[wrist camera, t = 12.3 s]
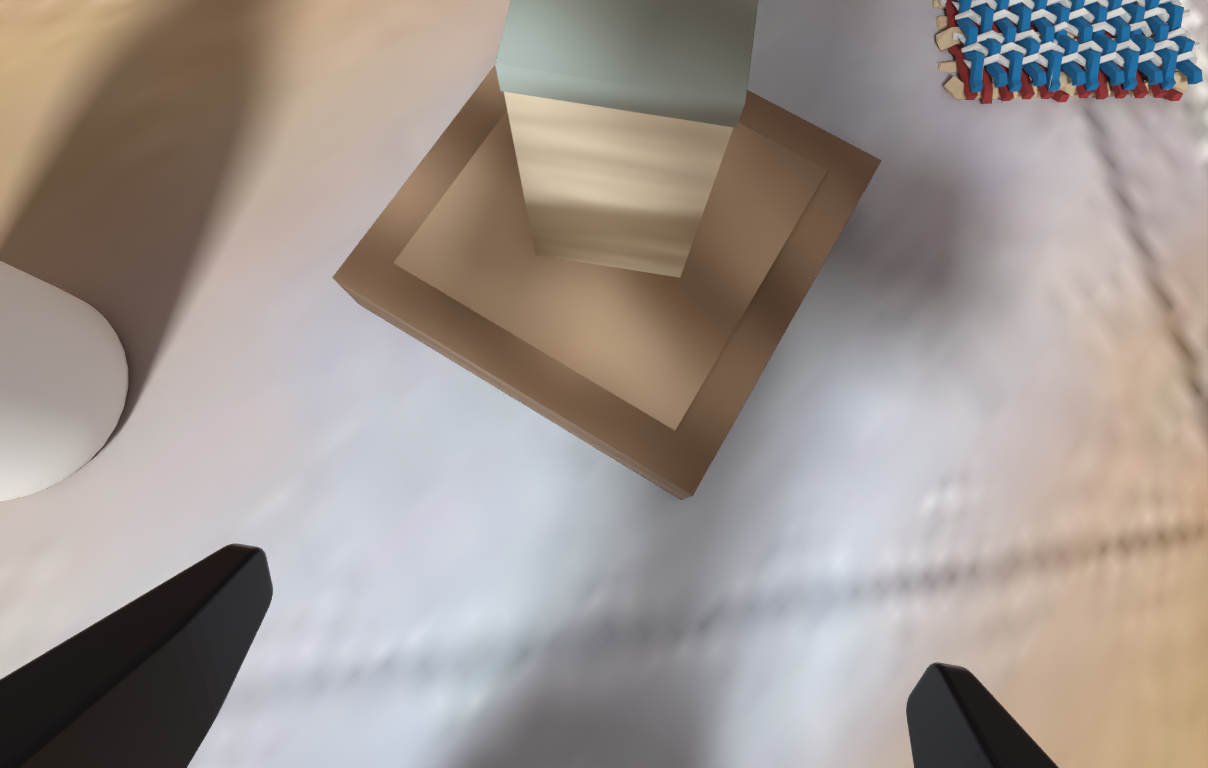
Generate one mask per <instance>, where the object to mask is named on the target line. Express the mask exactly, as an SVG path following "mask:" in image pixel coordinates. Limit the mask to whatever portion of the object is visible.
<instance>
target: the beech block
mask: <svg viewBox="0 0 1208 768" xmlns="http://www.w3.org/2000/svg"><path fill="white" fill-rule="evenodd" d="M757 5H758V0H510V4H509V8H508V12H507V16H506V20H505V25H504V29H503V33H502V37H501V41H500V46H499V50H498V54H497V58H496V62H495V66H496V71H497V76H498V81H499V86H500V91H503V92H504V96H505V101H506V106H507V111H508V116H509V121H510V127H511V132H512V137H513V142H514V147H515V152H516V157H517V163H518V168H519V173H520V178H521V183H522V188H523V194H524V199H525V204H526V209H527V214H528V219H529V224H530V230H531V235H532V240H533V245H534V250H535V255H541V256H548V257H554V258H560V259H566V260H573V261H579V262H585V263H591V264H598V265H604V266H610V267H616V268H623V269H629V270H635V271H642V272H648V273H654V274H660V275H667V276H673V277H679V278H680V277H681V274H682V271H683V269H684V266H685V263H686V260H687V257H688V254H689V252H690V249H691V246H692V243H693V240H694V237H695V235H696V232H697V229H698V226H699V223H700V221H701V218H702V215H703V212H704V209H705V206H706V204H707V201H708V198H709V195H710V192H711V189H712V187H713V184H714V181H715V178H716V175H717V172H718V170H719V167H720V164H721V161H722V158H723V155H724V153H725V150H726V147H727V144H728V141H729V139H730V136H731V133H732V130H733V127H734V128H736V127H737V124H738V121H739V119H740V116H741V113H742V110H743V108H744V105H745V100H746V92H747V85H748V77H749V69H750V61H751V53H752V45H753V37H754V29H755V21H756V13H757Z"/></svg>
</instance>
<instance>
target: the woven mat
mask: <svg viewBox="0 0 1208 768" xmlns="http://www.w3.org/2000/svg"><path fill="white" fill-rule="evenodd" d="M932 1H933V6H934V8H941V9H945V8H946V11H947V16H939V17H938V18H937V19H936V23H937V28H938V30H945V31H943V32H941V33H939V34H937V35H936V39H937V44H938V46H939V48H940V50H941V51H942V50H944V49H948V52H949V53H951V54H953V55H955V58H956V61H942V62H937V63H938V69H939V71H944V72H958V73H959V74H960V78H961V81H960V80H959V79H958V78H956V77H955V76H953V77H952V78H951V79H950V80H949V81H948V82H947V83H946V84H945V85H944V87H945V90H946V92H947V93H949V94H950V95H951V96H952V97H954V98H955V99H966V100H974V99H982V104H988V103H992V99H998V98H1001V101H1010V100H1011V99H1013V98H1022V99H1031V98H1039V97H1041V99H1049V98H1050V97H1051V98H1052V99H1054V100H1056V101H1058V102H1066V101H1067V99H1068V98H1069V97H1079V98H1087V97H1096V99H1105V98H1106V97H1108V96H1115V98H1124V97H1125V96H1135V98H1143V97H1145V96H1152V95H1153V96H1154V98H1162V97H1164V98H1166V99H1168V100H1170V101H1179V100H1180V98H1181V97H1182V95H1183V93H1181V91H1186V90H1187V85H1188V84H1197V83H1199V82H1202V81H1203V80H1202V70H1201V69H1200V68H1198V67H1197V66H1196V59H1197V58H1196V57H1195V56H1194V54H1193V53H1192V50H1195V49H1199V48H1200V43H1199V42H1196V43H1195V42H1194V41H1192V40H1191V39H1189V38H1190V33H1188V32H1187V31H1186V30H1184V29H1183V28H1181V22H1182V18H1184V17H1187V16H1190V11H1189V9H1188V10H1185V11H1184V7H1181V6H1180V5H1182V4H1181V2H1180V1H1179V0H932ZM1172 3H1173V4H1172ZM1168 14H1169V15H1168ZM1167 23H1168V24H1167ZM1150 28H1151V29H1152V30H1150ZM1038 30H1039V31H1040V32H1038ZM1192 62H1193V63H1194V64H1193V63H1192ZM1176 68H1177V69H1178V70H1179V71H1175V69H1176ZM1140 71H1141V72H1142V73H1144V74H1145V75H1146V76H1147V77H1148V79H1147V80H1143V78H1142V76H1141V73H1140ZM1028 74H1029V75H1030V76H1031V77H1032V78H1033V82H1032V83H1031V81H1030V78H1029V75H1028ZM1106 75H1107V76H1108V77H1110V82H1107V80H1106ZM991 76H992V77H993V78H994V83H992V78H991Z"/></svg>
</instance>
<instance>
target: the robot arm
mask: <svg viewBox="0 0 1208 768" xmlns="http://www.w3.org/2000/svg"><path fill="white" fill-rule="evenodd" d="M272 595H273V586H272V581H271V576H270V572H269V567H268V562H267V558H266V554H265V552H264V551H263V550H262V549H261V548H259V547H254V546H249V545H243V544H230V545H227V546H225V547H223V548H221V549H220V550H218V551H216V552H215V553H213V554H211V555H210V556H208V557H206V558H204V559H203V560H201V561H199V562H198V563H196V564H194V565H193V566H191V567H189V568H188V569H186V570H184V571H183V572H181V573H179V574H177V575H176V576H174V577H172V578H171V579H169V580H167V581H166V582H164V583H162V584H161V585H159V586H157V587H156V588H154V589H152V590H151V591H149V592H147V593H145V594H144V595H142V596H140V597H139V598H137V599H135V600H134V601H132V602H130V603H129V604H127V605H125V606H124V607H122V608H120V609H118V610H117V611H115V612H113V613H112V614H110V615H108V616H107V617H105V618H103V619H102V620H100V621H98V622H97V623H95V624H93V625H91V626H90V627H88V628H86V629H85V630H83V631H81V632H80V633H78V634H76V635H75V636H73V637H71V638H70V639H68V640H66V641H64V642H63V643H61V644H59V645H58V646H56V647H54V648H53V649H51V650H49V651H48V652H46V653H44V654H43V655H41V656H39V657H37V658H36V659H34V660H32V661H31V662H29V663H27V664H26V665H24V666H22V667H21V668H19V669H17V670H16V671H14V672H12V673H11V674H9V675H7V676H5V677H4V678H2V679H0V768H187V766H188V765H189V763H190V761H191V760H192V758H193V756H194V755H195V753H196V751H197V750H198V748H199V746H200V745H201V743H202V741H203V740H204V738H205V736H206V735H207V733H208V731H209V729H210V728H211V726H212V724H213V722H214V721H215V719H216V717H217V715H218V713H219V711H220V709H221V707H222V705H223V703H224V701H225V699H226V697H227V695H228V693H229V691H230V689H231V687H232V684H233V682H234V680H235V678H236V676H237V674H238V672H239V670H240V667H241V665H242V663H243V661H244V659H245V657H246V655H247V653H248V650H249V648H250V646H251V644H252V642H253V640H254V638H255V636H256V633H257V631H258V629H259V627H260V625H261V623H262V621H263V619H264V617H265V614H266V612H267V610H268V608H269V606H270V603H271V600H272ZM906 714H907V722H908V729H909V735H910V742H911V749H912V756H913V763H914V768H1059V767H1058V766H1057V765H1056V764H1055V763H1054V762H1053V761H1052V760H1051V759H1050V758H1049V756H1048V755H1047V754H1046V753H1045V752H1044V751H1043V750H1042V749H1041V748H1040V747H1039V746H1038V744H1037V743H1036V742H1035V741H1034V740H1033V739H1032V738H1031V737H1030V736H1029V735H1028V734H1027V732H1026V731H1025V730H1024V729H1023V728H1022V727H1021V726H1020V725H1019V724H1018V723H1017V722H1016V720H1015V719H1014V718H1013V717H1012V716H1011V715H1010V714H1009V713H1008V712H1007V711H1006V710H1005V709H1004V707H1003V706H1002V705H1001V704H1000V703H999V702H998V701H997V700H996V699H995V698H994V697H993V695H992V694H991V693H990V692H989V691H988V690H987V689H986V688H985V687H984V686H983V685H982V683H981V682H980V681H979V680H978V679H977V678H976V677H975V676H974V675H973V674H972V673H971V672H970V671H969V670H967V669H966V668H964V667H961V666H956V665H950V664H944V663H933V664H931V665H930V666H929V667H928V668H927V669H926V671H925V672H924V674H923V675H922V677H921V679H920V680H919V682H918V683H917V685H916V686H915V688H914V689H913V691H912V692H911V694H910V696H909V698H908V701H907V707H906Z"/></svg>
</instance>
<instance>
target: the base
mask: <svg viewBox="0 0 1208 768" xmlns="http://www.w3.org/2000/svg"><path fill="white" fill-rule="evenodd" d="M880 162H881V160H880V159H878V158H876V157H874V156H872V155H870V154H868V153H866V152H864V151H862V150H860V149H859V148H857V147H855V146H853V145H851V144H849V143H847V142H845V141H843V140H841V139H840V138H838V137H836V136H834V135H832V134H830V133H828V132H826V131H824V130H822V129H820V128H819V127H817V126H815V125H813V124H811V123H809V122H807V121H805V120H803V119H801V118H800V117H798V116H796V115H794V114H792V113H790V112H788V111H786V110H784V109H782V108H780V107H779V106H777V105H775V104H773V103H771V102H769V101H767V100H765V99H763V98H761V97H760V96H758V95H756V94H754V93H752V92H750V91H748V90H747V92H746V100H745V105H744V108H743V110H742V113H741V116H740V119H739V121H738V124H737V127H736V128H734V127H733V130H732V133H731V136H730V139H729V141H728V144H727V147H726V150H725V153H724V155H723V158H722V161H721V164H720V167H719V170H718V172H717V175H716V178H715V181H714V184H713V187H712V189H711V192H710V195H709V198H708V201H707V204H706V206H705V209H704V212H703V215H702V218H701V221H700V223H699V226H698V229H697V232H696V235H695V237H694V240H693V243H692V246H691V249H690V252H689V254H688V257H687V260H686V263H685V266H684V269H683V271H682V274H681V277H680V278H679V277H673V276H667V275H660V274H654V273H648V272H642V271H635V270H629V269H623V268H616V267H610V266H604V265H598V264H591V263H585V262H579V261H573V260H566V259H560V258H554V257H548V256H541V255H535V250H534V245H533V240H532V235H531V230H530V224H529V219H528V214H527V209H526V204H525V199H524V194H523V188H522V183H521V178H520V173H519V168H518V163H517V157H516V152H515V147H514V142H513V137H512V132H511V127H510V121H509V116H508V111H507V106H506V101H505V96H504V92H503V91H500V86H499V81H498V76H497V71H496V66H494V67H493V69H492V70H491V71H490V72H489V74H488V75H487V76H486V78H485V79H484V80H483V82H482V83H481V84H480V86H479V87H478V88H477V89H476V91H475V92H474V93H473V95H472V96H471V97H470V99H469V100H468V101H467V103H466V104H465V105H464V106H463V108H462V109H461V110H460V112H459V113H458V114H457V116H456V117H455V118H454V119H453V121H452V122H451V123H450V125H449V126H448V127H447V129H446V130H445V131H444V133H443V134H442V135H441V136H440V138H439V139H438V140H437V142H436V143H435V144H434V146H433V147H432V148H431V150H430V151H429V152H428V153H427V155H426V156H425V157H424V159H423V160H422V161H421V163H420V164H419V165H418V166H417V168H416V169H415V170H414V172H413V173H412V174H411V176H410V177H409V178H408V180H407V181H406V182H405V183H404V185H403V186H402V187H401V189H400V190H399V191H398V193H397V194H396V195H395V197H394V198H393V199H392V200H391V202H390V203H389V204H388V206H387V207H386V208H385V210H384V211H383V212H382V213H381V215H380V216H379V217H378V219H377V220H376V221H375V223H374V224H373V225H372V227H371V228H370V229H369V230H368V232H367V233H366V234H365V236H364V237H363V238H362V240H361V241H360V242H359V244H358V245H357V246H356V247H355V249H354V250H353V251H352V253H351V254H350V255H349V257H348V258H347V259H346V260H345V262H344V263H343V264H342V266H341V267H340V268H339V270H338V271H337V272H336V274H335V275H334V276H333V277H332V278H333V279H334V280H335V281H336V282H337V283H338V284H339V285H340V286H341V287H342V288H343V289H344V290H345V291H346V292H347V293H348V294H349V295H350V296H351V297H352V298H353V299H354V300H355V301H356V302H357V303H358V304H360V305H361V306H363V307H365V308H366V309H368V310H369V311H371V312H373V313H374V314H376V315H378V316H379V317H381V318H383V319H384V320H386V321H388V322H389V323H391V324H393V325H394V326H396V327H397V328H399V329H401V330H402V331H404V332H406V333H407V334H409V335H411V336H412V337H414V338H416V339H417V340H419V341H421V342H422V343H424V344H425V345H427V346H429V347H430V348H432V349H434V350H435V351H437V352H439V353H440V354H442V355H444V356H445V357H447V358H449V359H450V360H452V361H453V362H455V363H457V364H458V365H460V366H462V367H463V368H465V369H467V370H468V371H470V372H472V373H473V374H475V375H477V376H478V377H480V378H481V379H483V380H485V381H486V382H488V383H490V384H491V385H493V386H495V387H496V388H498V389H500V390H501V391H503V392H504V393H506V394H508V395H509V396H511V397H513V398H514V399H516V400H518V401H519V402H521V403H523V404H524V405H526V406H528V407H529V408H531V409H532V410H534V411H536V412H537V413H539V414H541V415H542V416H544V417H546V418H547V419H549V420H551V421H552V422H554V423H556V424H557V425H559V426H560V427H562V428H564V429H565V430H567V431H569V432H570V433H572V434H574V435H575V436H577V437H579V438H580V439H582V440H584V441H585V442H587V443H588V444H590V445H592V446H593V447H595V448H597V449H598V450H600V451H602V452H603V453H605V454H607V455H608V456H610V457H612V458H613V459H615V460H616V461H618V462H620V463H621V464H623V465H625V466H626V467H628V468H630V469H631V470H633V471H635V472H636V473H638V474H639V475H641V476H643V477H644V478H646V479H648V480H649V481H651V482H653V483H654V484H656V485H658V486H659V487H661V488H663V489H664V490H666V491H667V492H669V493H671V494H672V495H674V496H676V497H677V498H679V499H681V500H682V499H685V498H688V497H690V496H693V494H694V492H695V490H696V489H697V487H698V485H699V483H700V482H701V480H702V478H703V476H704V474H705V473H706V471H707V469H708V467H709V466H710V464H711V462H712V460H713V459H714V457H715V455H716V453H717V451H718V450H719V448H720V446H721V444H722V443H723V441H724V439H725V437H726V435H727V434H728V432H729V430H730V428H731V427H732V425H733V423H734V421H735V419H736V418H737V416H738V414H739V412H740V411H741V409H742V407H743V405H744V404H745V402H746V400H747V398H748V396H749V395H750V393H751V391H752V389H753V388H754V386H755V384H756V382H757V380H758V379H759V377H760V375H761V373H762V372H763V370H764V368H765V366H766V364H767V363H768V361H769V359H770V357H771V356H772V354H773V352H774V350H775V349H776V347H777V345H778V343H779V341H780V340H781V338H782V336H783V334H784V333H785V331H786V329H787V327H788V325H789V324H790V322H791V320H792V318H793V317H794V315H795V313H796V311H797V309H798V308H799V306H800V304H801V302H802V301H803V299H804V297H805V295H806V294H807V292H808V290H809V288H810V286H811V285H812V283H813V281H814V279H815V278H816V276H817V274H818V272H819V270H820V269H821V267H822V265H823V263H824V262H825V260H826V258H827V256H828V254H829V253H830V251H831V249H832V247H833V246H834V244H835V242H836V240H837V239H838V237H839V235H840V233H841V231H842V230H843V228H844V226H845V224H846V223H847V221H848V219H849V217H850V215H851V214H852V212H853V210H854V208H855V207H856V205H857V203H858V201H859V199H860V198H861V196H862V194H863V192H864V191H865V189H866V187H867V185H868V184H869V182H870V180H871V178H872V176H873V175H874V173H875V171H876V169H877V168H878V166H879V164H880Z"/></svg>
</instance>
